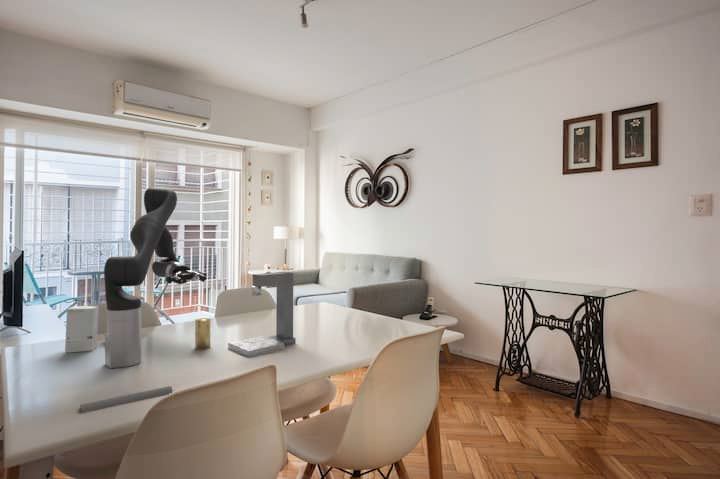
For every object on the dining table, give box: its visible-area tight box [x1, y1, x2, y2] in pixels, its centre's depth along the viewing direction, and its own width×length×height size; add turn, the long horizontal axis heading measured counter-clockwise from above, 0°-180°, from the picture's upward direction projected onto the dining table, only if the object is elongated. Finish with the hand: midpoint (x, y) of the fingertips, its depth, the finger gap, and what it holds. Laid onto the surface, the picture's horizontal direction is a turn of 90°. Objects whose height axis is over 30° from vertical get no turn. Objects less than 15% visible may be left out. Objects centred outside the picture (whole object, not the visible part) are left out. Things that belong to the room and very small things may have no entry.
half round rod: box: [80, 385, 173, 414], centre depth 101 cm, size 4×20×2 cm, turn 127°
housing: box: [194, 317, 211, 351], centre depth 146 cm, size 5×5×10 cm
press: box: [227, 271, 297, 358], centre depth 150 cm, size 21×20×26 cm
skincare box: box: [64, 305, 99, 353], centre depth 143 cm, size 8×6×15 cm
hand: (192, 280), depth 153 cm, fingers open, 8 cm apart
